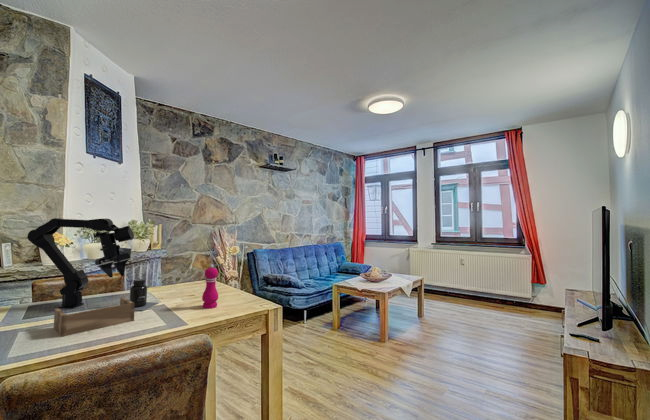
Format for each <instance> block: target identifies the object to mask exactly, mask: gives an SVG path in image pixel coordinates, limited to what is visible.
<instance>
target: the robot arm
mask: <svg viewBox="0 0 650 420" xmlns="http://www.w3.org/2000/svg"><path fill="white" fill-rule="evenodd" d="M61 228H79V229H80V228H81V229H82V228H83V229H89V230H92V231H97V232H96V233H95V234H94V235H93V238H94V239H95V238H99V241H100V244H101V245H100V246H101V248H100V249H99V250H100V252H102V253H103V257H100V258H96V259H95V260H94V263H95V264H94V265H95V266H97V267H98V268H100V269H101V270H102V271H103V273H105V274H106V275H107V276H108V277H109V278H110V279H111V278H113V277H114V276H113V275H114V274H113V267H112V266H113V265H114V267H115V269H116V270H117V272H118V273H119V275H120V276H121V277H124V276H125V270H126V265H127V263H128V262H129V261H130V259H131V258H132V256H131V255H132V248H130V247H121V246H120V244H117V241H118V243H122V242H127V241H131V240H134V239H135V234H134V231H133V229H132V228H131V226H130V225H125V226H124V227H118V226H117V225H115V224H114V221H113V220H112V219H111V218H95V219H75V218H73V219H72V218H60V217H58V218H57V217H55V218H51V219H50V220H48V221H47V222H45V223H43V224H42V225H40V226H38V227H37V228H36V229H32V230H30V231H29V232H28V233H27V236H26V238H27V240H28V241H29V242H30V243H31V244H33V245H34V246H36V247H37V248H39V249H41V250H43V252H44V253H45V254H46V256H48V258H49V259H50V261H51V262H52V263H53V264H54V265H55V267H56V268H57V269H58V270H59V272H60V273H61V274H62V278H63V282H64V284H65V285H64V286H63V287H62V288H61V289H59V292H60V295H62V297H61V305H59V306H58V308H59V309H60V308H62V309H74V308H76V307H79V306H82V305H84V304H85V303H84V302H83V295H82V291H83V290H84V289H85V287H86V286H87V285H88V284H89V278H88V277H89V275H87V274H86V273H85V270H83V269H80V270H78V269H76V268H75V267H74V266H73V265H72V263H71V262H70V260H68V258H67V257H66V256H65V255H64V253H63V252H62V251H61V250H60V248H59V247H58V246H57V244H56V242H55V236H54V234H56V233H57V232H58V231H59V230H60V229H61Z"/></svg>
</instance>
